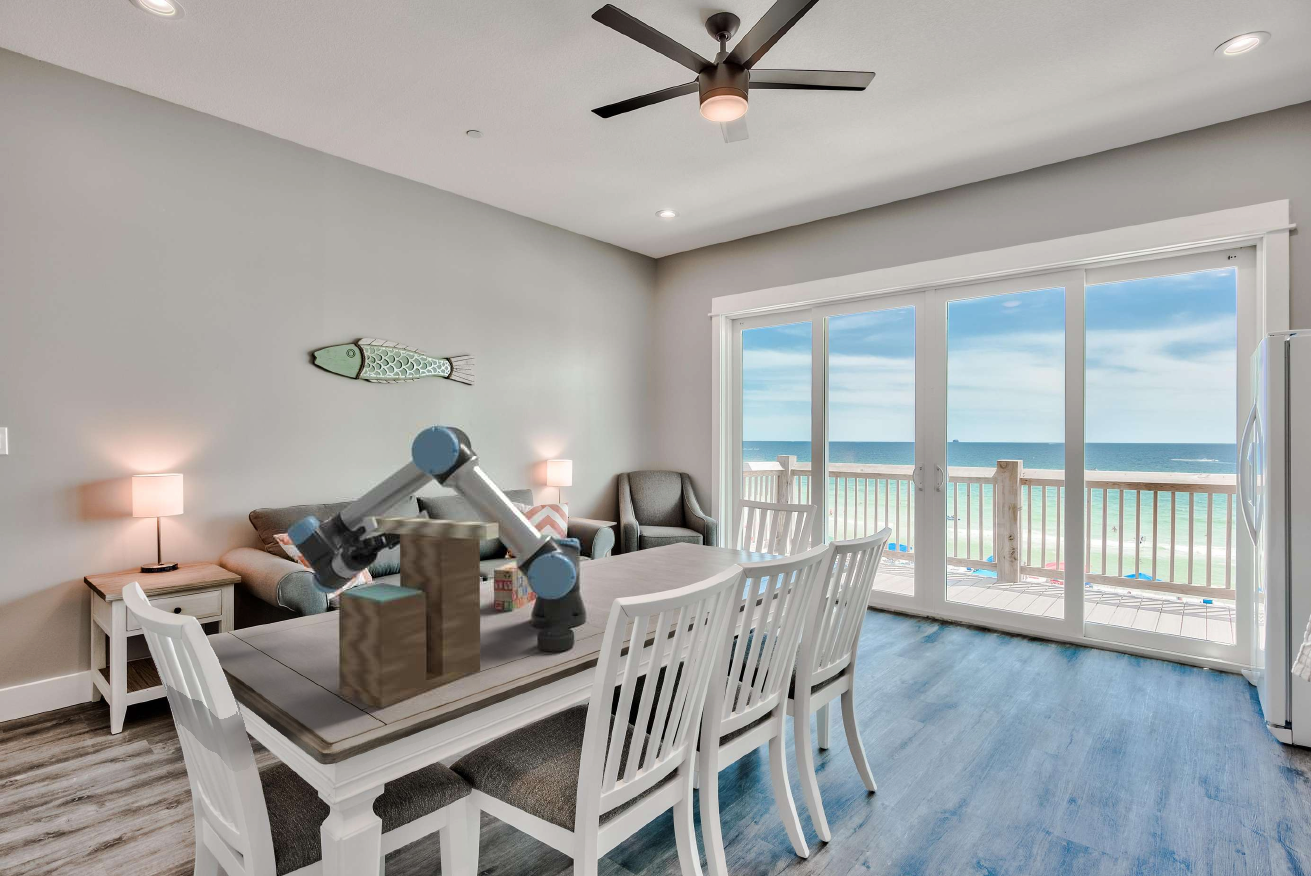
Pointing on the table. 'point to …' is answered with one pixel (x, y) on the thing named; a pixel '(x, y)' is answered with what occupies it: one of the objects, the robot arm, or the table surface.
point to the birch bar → (436, 527)
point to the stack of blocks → (511, 588)
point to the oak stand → (413, 624)
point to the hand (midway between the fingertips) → (401, 518)
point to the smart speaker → (555, 639)
